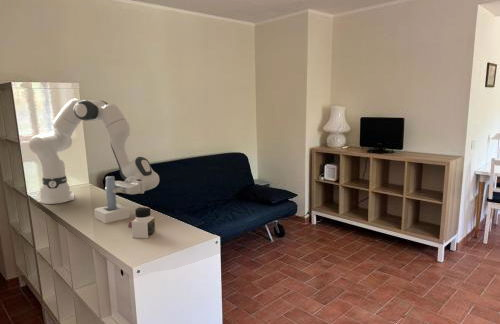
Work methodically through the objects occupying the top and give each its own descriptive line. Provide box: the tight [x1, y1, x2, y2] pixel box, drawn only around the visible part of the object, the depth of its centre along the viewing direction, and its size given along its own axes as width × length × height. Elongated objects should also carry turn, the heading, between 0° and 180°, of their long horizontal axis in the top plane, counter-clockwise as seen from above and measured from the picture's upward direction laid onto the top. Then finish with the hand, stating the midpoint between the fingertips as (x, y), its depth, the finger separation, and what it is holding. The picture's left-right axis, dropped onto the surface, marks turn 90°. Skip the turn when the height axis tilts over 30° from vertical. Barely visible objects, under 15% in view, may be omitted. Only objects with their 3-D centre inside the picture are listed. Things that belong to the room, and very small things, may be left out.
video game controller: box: [127, 215, 136, 228], centre depth 154 cm, size 10×5×7 cm, turn 47°
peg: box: [105, 175, 117, 210], centre depth 167 cm, size 4×4×16 cm
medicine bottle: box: [131, 206, 156, 240], centre depth 145 cm, size 7×7×12 cm
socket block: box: [93, 203, 130, 224], centre depth 168 cm, size 12×12×4 cm
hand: (109, 190), depth 166 cm, fingers closed on peg, 4 cm apart
